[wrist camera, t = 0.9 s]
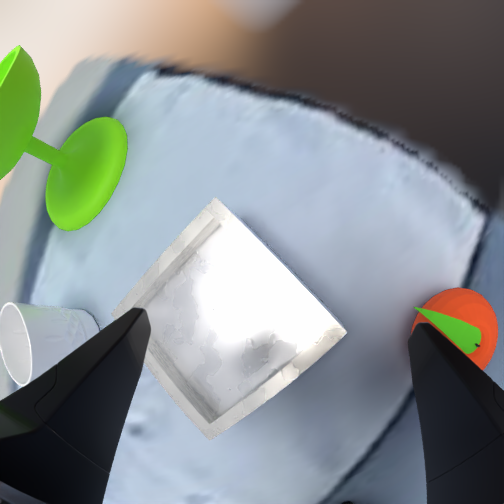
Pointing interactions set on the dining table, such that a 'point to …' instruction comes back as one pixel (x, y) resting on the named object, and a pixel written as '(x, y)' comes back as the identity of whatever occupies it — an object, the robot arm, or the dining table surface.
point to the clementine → (463, 322)
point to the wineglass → (70, 154)
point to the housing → (227, 320)
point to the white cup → (40, 337)
